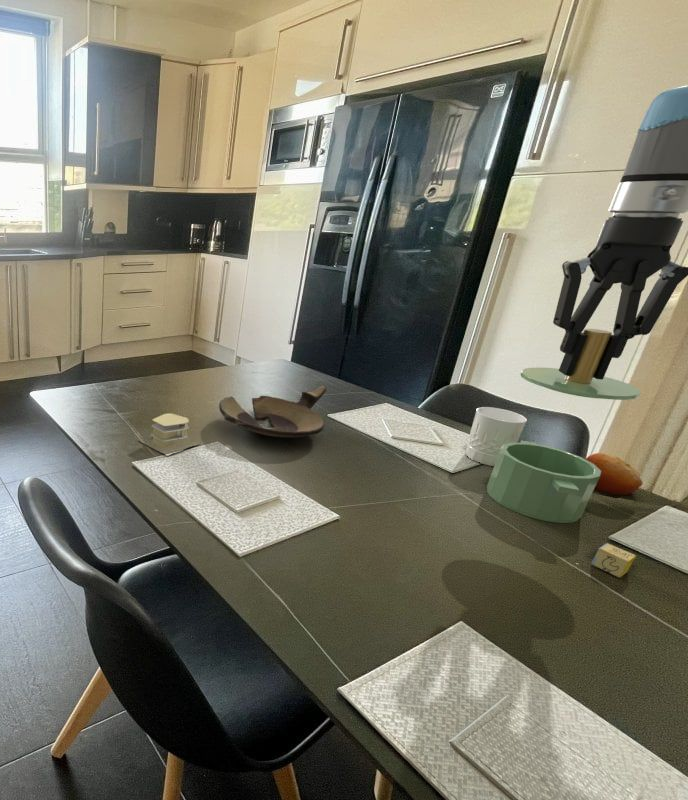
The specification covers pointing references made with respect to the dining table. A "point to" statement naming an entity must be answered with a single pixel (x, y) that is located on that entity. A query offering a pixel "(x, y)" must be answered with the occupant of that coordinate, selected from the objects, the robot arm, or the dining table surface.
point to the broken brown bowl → (277, 415)
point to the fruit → (615, 475)
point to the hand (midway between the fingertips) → (580, 374)
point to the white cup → (493, 433)
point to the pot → (542, 482)
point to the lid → (584, 373)
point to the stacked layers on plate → (169, 429)
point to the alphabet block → (613, 560)
